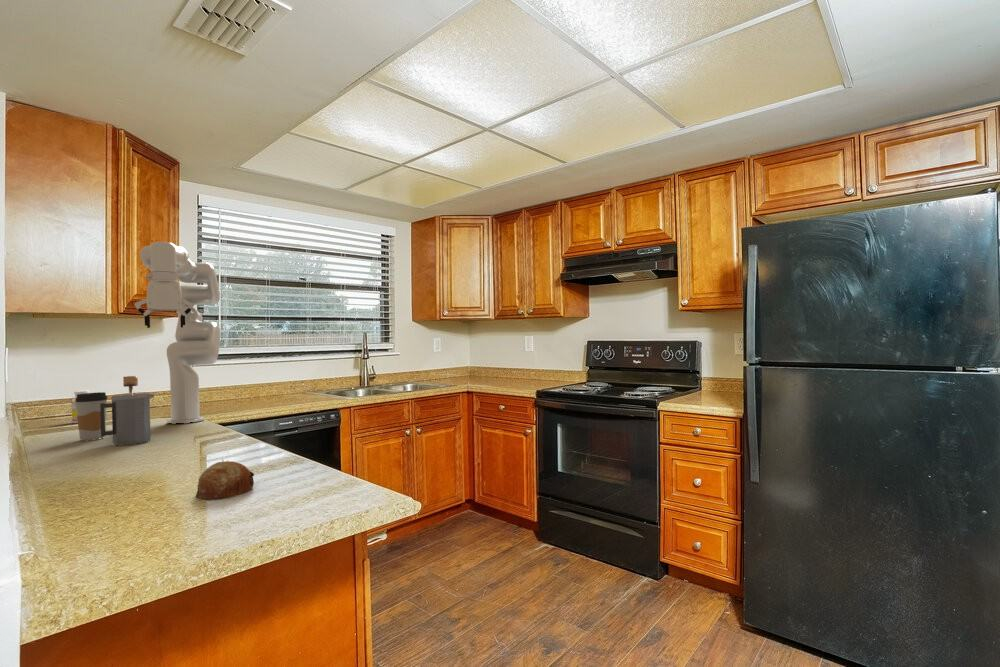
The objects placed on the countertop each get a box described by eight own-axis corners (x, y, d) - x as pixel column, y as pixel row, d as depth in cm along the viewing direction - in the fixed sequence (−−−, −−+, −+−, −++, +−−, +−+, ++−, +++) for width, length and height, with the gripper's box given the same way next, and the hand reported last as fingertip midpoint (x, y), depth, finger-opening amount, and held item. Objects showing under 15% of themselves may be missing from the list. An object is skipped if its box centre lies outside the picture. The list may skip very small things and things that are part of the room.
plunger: (121, 437, 159) (119, 376, 159) (144, 434, 162) (142, 375, 162) (118, 440, 154) (117, 377, 154) (143, 437, 157) (141, 376, 157)
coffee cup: (104, 435, 173) (103, 391, 173) (111, 438, 167) (110, 392, 168) (73, 440, 166) (72, 394, 166) (79, 442, 161) (78, 395, 161)
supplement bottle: (89, 420, 212) (88, 389, 212) (96, 421, 209) (95, 390, 209) (69, 423, 206) (68, 391, 207) (76, 424, 203) (75, 392, 203)
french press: (103, 443, 158) (102, 394, 158) (155, 438, 165) (154, 391, 165) (99, 448, 150) (98, 397, 150) (154, 442, 157) (152, 393, 157)
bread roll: (201, 509, 102) (180, 477, 100) (249, 477, 109) (231, 446, 106) (216, 520, 95) (194, 486, 93) (266, 485, 102) (247, 453, 99)
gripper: (132, 276, 168) (133, 327, 168) (193, 277, 177) (194, 326, 177) (134, 278, 174) (135, 328, 174) (193, 280, 184) (194, 327, 183)
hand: (165, 327), depth 176 cm, fingers open, 9 cm apart
